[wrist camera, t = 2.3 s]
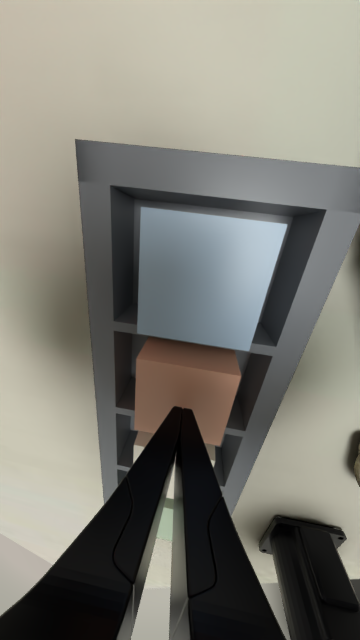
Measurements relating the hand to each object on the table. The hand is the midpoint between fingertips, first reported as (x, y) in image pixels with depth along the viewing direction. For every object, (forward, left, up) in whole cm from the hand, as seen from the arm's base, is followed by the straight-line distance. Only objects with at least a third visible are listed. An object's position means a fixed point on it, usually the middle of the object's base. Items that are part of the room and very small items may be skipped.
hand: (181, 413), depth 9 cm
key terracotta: (0, 0, -3) cm, 3 cm away
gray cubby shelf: (-3, 0, -5) cm, 6 cm away
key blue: (+6, 0, -3) cm, 6 cm away
